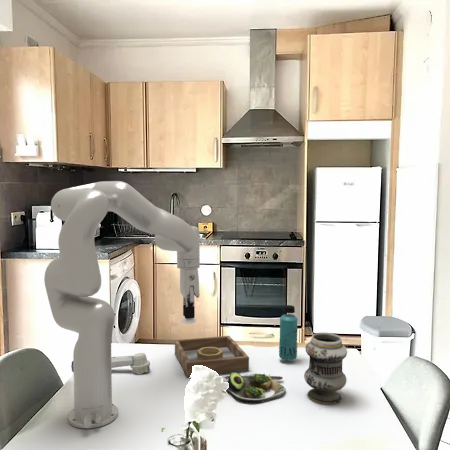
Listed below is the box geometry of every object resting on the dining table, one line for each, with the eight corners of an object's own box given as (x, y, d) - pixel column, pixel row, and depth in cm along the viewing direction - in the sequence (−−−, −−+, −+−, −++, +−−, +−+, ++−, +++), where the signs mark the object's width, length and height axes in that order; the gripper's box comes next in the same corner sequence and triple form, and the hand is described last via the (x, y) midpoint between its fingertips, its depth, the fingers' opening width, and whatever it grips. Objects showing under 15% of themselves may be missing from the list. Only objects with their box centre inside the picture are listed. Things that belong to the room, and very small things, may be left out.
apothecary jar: (325, 410, 119) (326, 346, 118) (295, 393, 129) (296, 334, 128) (354, 399, 126) (356, 338, 124) (324, 384, 136) (325, 327, 134)
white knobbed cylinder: (75, 357, 147) (149, 347, 147) (78, 376, 148) (152, 367, 147) (69, 363, 142) (146, 353, 141) (72, 383, 142) (149, 373, 142)
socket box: (248, 371, 145) (248, 357, 145) (186, 378, 139) (186, 363, 139) (228, 348, 167) (229, 335, 167) (174, 353, 161) (174, 340, 161)
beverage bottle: (277, 363, 152) (278, 307, 151) (280, 356, 159) (281, 303, 157) (295, 365, 150) (296, 309, 149) (298, 359, 157) (299, 304, 155)
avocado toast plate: (269, 373, 145) (269, 359, 145) (300, 395, 129) (300, 380, 129) (216, 383, 137) (216, 369, 136) (242, 409, 121) (243, 392, 120)
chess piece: (188, 318, 150) (188, 289, 150) (199, 321, 147) (198, 292, 146) (178, 321, 147) (178, 292, 146) (189, 324, 144) (188, 294, 143)
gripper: (205, 266, 139) (205, 322, 140) (194, 259, 154) (194, 309, 156) (182, 267, 137) (182, 325, 138) (173, 260, 152) (173, 311, 153)
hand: (188, 316), depth 147 cm, fingers closed on chess piece
